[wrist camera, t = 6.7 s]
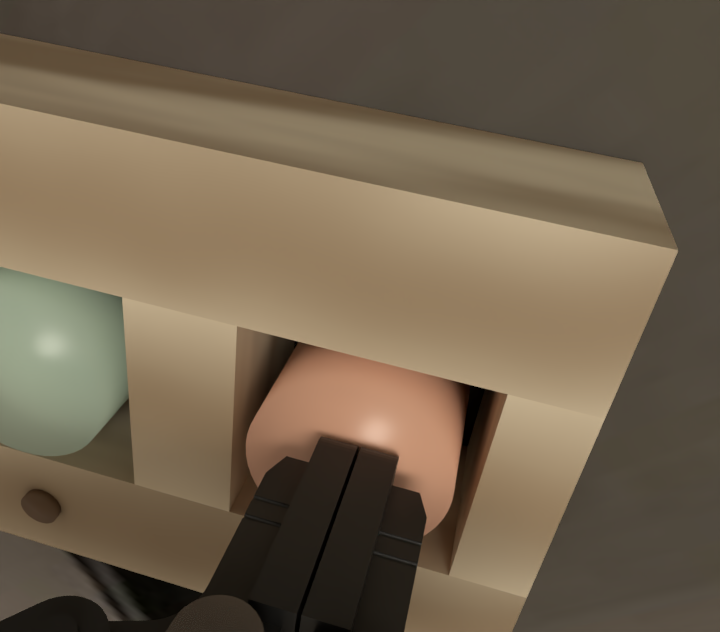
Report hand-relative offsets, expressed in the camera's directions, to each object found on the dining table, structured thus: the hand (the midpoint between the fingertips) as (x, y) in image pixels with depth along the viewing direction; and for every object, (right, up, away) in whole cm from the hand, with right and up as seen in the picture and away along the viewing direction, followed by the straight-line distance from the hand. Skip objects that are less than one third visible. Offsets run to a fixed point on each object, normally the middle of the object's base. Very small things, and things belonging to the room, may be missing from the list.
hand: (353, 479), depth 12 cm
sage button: (-6, +3, +3) cm, 8 cm away
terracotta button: (+1, +2, +2) cm, 3 cm away
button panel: (-6, +4, +4) cm, 8 cm away
